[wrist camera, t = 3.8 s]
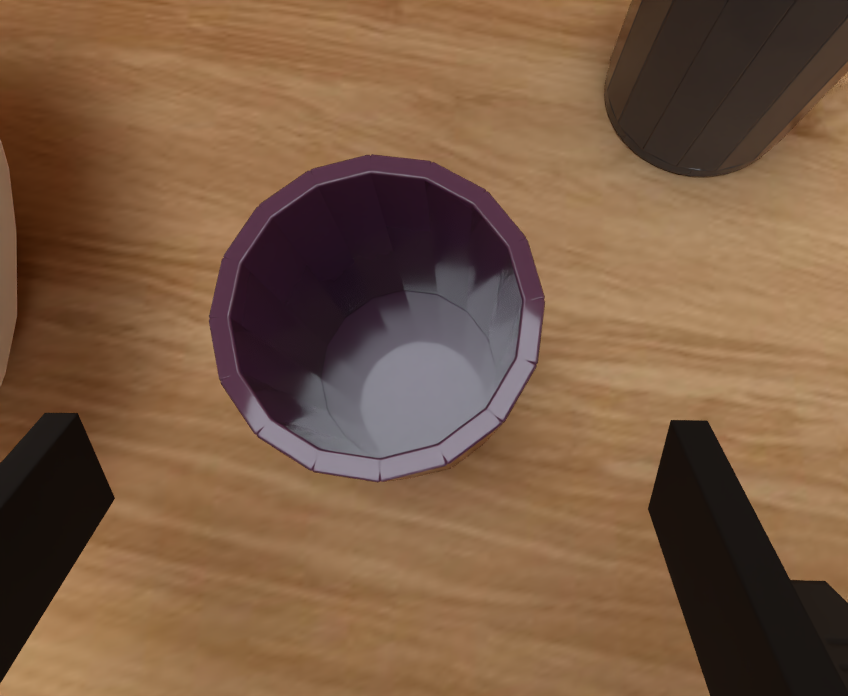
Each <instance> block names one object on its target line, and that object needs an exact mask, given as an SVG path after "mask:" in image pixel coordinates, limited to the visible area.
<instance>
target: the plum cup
mask: <svg viewBox="0 0 848 696" xmlns="http://www.w3.org/2000/svg"><path fill="white" fill-rule="evenodd" d="M223 257H224V258H223V259H222V261H221V266H220V270H219V275H218V279H217V284H216V288H215V292H214V297H213V301H212V306H211V310H210V315H209V318H210V319H209V325H210V330H211V336H212V341H213V347H214V353H215V358H216V364H217V370H218V375H219V380H220V381H221V385H222V386H223V388H224V389H225V391H226V392H227V394H228V395H229V397H230V398H231V400H232V401H233V403H234V404H235V406H236V407H237V409H238V410H239V412H240V413H241V415H242V416H243V418H244V419H245V421H246V422H247V424H248V425H249V427H250V428H251V430H252V431H253V433H254V434H256V435H257V437H258V438H260V439H261V440H263V441H264V442H266V443H267V444H269V445H271V446H272V447H274V448H275V449H277V450H278V451H280V452H282V453H283V454H285V455H286V456H288V457H289V458H291V459H293V460H294V461H296V462H297V463H299V464H300V465H302V466H304V467H305V468H307V469H308V470H310V471H313V472H315V473H322V474H328V475H334V476H341V477H347V478H353V479H360V480H366V481H372V482H387V481H394V480H401V479H409V478H415V477H419V476H423V475H427V474H431V473H435V472H439V471H443V470H447V469H451V468H452V467H454V466H456V465H457V464H458V463H460V462H461V461H462V460H464V459H465V458H466V457H468V456H469V455H470V454H472V453H473V452H474V451H476V450H477V449H478V448H479V447H481V446H482V445H483V444H484V443H485V442H486V441H487V440H488V439H489V438H490V437H491V436H492V435H493V434H494V433H495V432H496V431H497V430H498V428H499V427H500V426H501V425H502V424H503V423H504V422H505V421H506V419H507V417H508V415H509V414H510V412H511V410H512V408H513V407H514V405H515V403H516V402H517V400H518V398H519V396H520V395H521V393H522V391H523V389H524V388H525V386H526V384H527V383H528V381H529V379H530V377H531V376H532V374H533V372H534V370H535V369H536V366H537V365H536V364H537V363H538V358H539V350H540V341H541V333H542V324H543V316H544V307H545V300H544V298H545V296H544V293H543V290H542V286H541V283H540V280H539V276H538V273H537V270H536V266H535V263H534V260H533V256H532V253H531V250H530V246H529V243H528V240H527V239H526V237H525V235H524V234H523V233H522V232H521V231H520V229H519V228H518V227H517V226H516V225H515V223H514V222H513V221H512V220H511V219H510V217H509V216H508V215H507V214H506V213H505V211H504V210H503V209H502V208H501V207H500V205H499V204H498V203H497V202H496V201H495V199H494V198H493V197H492V196H491V195H490V193H489V192H487V191H486V190H485V189H484V188H482V187H480V186H478V185H476V184H474V183H472V182H470V181H468V180H467V179H465V178H463V177H461V176H459V175H457V174H455V173H453V172H451V171H450V170H448V169H446V168H444V167H442V166H440V165H438V164H436V163H434V162H432V163H431V161H426V160H417V159H408V158H399V157H391V156H382V155H373V154H372V155H371V156H370V155H365V156H361V157H357V158H353V159H349V160H345V161H341V162H337V163H333V164H329V165H325V166H321V167H317V168H314V169H311V170H310V171H307V172H305V173H304V174H302V175H301V176H299V177H298V178H297V179H295V180H294V181H292V182H291V183H289V184H288V185H287V186H285V187H284V188H282V189H281V190H279V191H278V192H276V193H275V194H274V195H272V196H271V197H269V198H268V199H266V200H265V201H263V202H262V203H261V204H260V205H259V207H256V209H255V210H254V212H253V213H252V215H251V216H250V218H249V219H248V221H247V222H246V223H245V225H244V226H243V228H242V229H241V231H240V232H239V234H238V235H237V237H236V238H235V240H234V241H233V242H232V244H231V245H230V247H229V248H228V250H227V251H226V253H225V254H224V256H223Z"/></svg>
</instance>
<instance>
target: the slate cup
mask: <svg viewBox="0 0 848 696" xmlns="http://www.w3.org/2000/svg"><path fill="white" fill-rule="evenodd" d="M847 72H848V0H632V1H631V4H630V6H629V9H628V12H627V15H626V17H625V20H624V23H623V25H622V28H621V31H620V34H619V36H618V39H617V42H616V44H615V47H614V50H613V53H612V55H611V58H610V63H609V68H608V71H607V75H606V80H605V102H606V107H607V111H608V115H609V117H610V120H611V122H612V125H613V127H614V128H615V130H616V132H617V133H618V135H619V136H620V138H621V139H622V140H623V141H624V143H625V144H626V145H627V146H628V147H629V148H630V149H631V150H632V151H633V152H634V153H636V154H637V155H638V156H640V157H641V158H642V159H644V160H645V161H647V162H649V163H651V164H652V165H654V166H656V167H659V168H661V169H663V170H666V171H669V172H673V173H676V174H681V175H687V176H698V177H706V176H717V175H722V174H727V173H731V172H734V171H737V170H740V169H742V168H744V167H746V166H748V165H750V164H752V163H753V162H755V161H756V160H758V159H760V158H761V157H762V156H763V155H764V154H765V153H767V152H768V151H769V150H770V149H771V148H772V147H773V146H774V145H775V144H777V143H778V142H779V141H781V140H782V139H783V138H784V137H785V136H786V135H787V134H788V132H789V131H790V130H791V129H792V128H793V127H794V126H795V125H796V124H797V123H798V122H799V121H800V120H801V119H802V118H803V117H804V116H805V115H806V114H807V113H808V112H809V111H810V110H811V109H812V108H813V107H814V106H815V105H816V104H817V103H818V102H819V101H820V100H821V99H822V98H823V97H824V96H825V95H826V93H827V92H828V91H829V90H830V89H831V88H832V87H833V86H834V85H835V84H836V83H837V82H838V81H839V80H840V79H841V78H842V77H843V76H844V75H845V74H846V73H847Z"/></svg>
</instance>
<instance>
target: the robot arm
mask: <svg viewBox="0 0 848 696" xmlns="http://www.w3.org/2000/svg"><path fill="white" fill-rule="evenodd" d="M114 499H115V498H114V495H113V493H112V491H111V488H110V486H109V484H108V482H107V479H106V477H105V475H104V472H103V470H102V468H101V466H100V463H99V461H98V459H97V456H96V454H95V452H94V450H93V447H92V445H91V443H90V440H89V438H88V436H87V433H86V431H85V429H84V427H83V424H82V422H81V420H80V417H79V415H78V413H44V415H43V416H42V417H41V418H40V419H39V420H38V421H37V422H36V424H35V425H34V426H33V427H32V428H31V429H30V430H29V432H28V433H27V434H26V435H25V436H24V437H23V438H22V439H21V441H20V442H19V443H18V444H17V445H16V446H15V447H14V449H13V450H12V451H11V452H10V453H9V454H8V455H7V456H6V458H5V459H4V460H3V461H2V462H1V463H0V683H1V681H2V680H3V678H4V677H5V675H6V673H7V672H8V670H9V668H10V667H11V665H12V664H13V662H14V660H15V659H16V657H17V656H18V654H19V652H20V651H21V649H22V648H23V646H24V644H25V643H26V641H27V639H28V638H29V636H30V635H31V633H32V631H33V630H34V628H35V627H36V625H37V623H38V622H39V620H40V618H41V617H42V615H43V614H44V612H45V610H46V609H47V607H48V606H49V604H50V602H51V601H52V599H53V597H54V596H55V594H56V593H57V591H58V589H59V588H60V586H61V585H62V583H63V581H64V580H65V578H66V577H67V575H68V573H69V572H70V570H71V568H72V567H73V565H74V564H75V562H76V560H77V559H78V557H79V556H80V554H81V552H82V551H83V549H84V547H85V546H86V544H87V543H88V541H89V539H90V538H91V536H92V535H93V533H94V531H95V530H96V528H97V526H98V525H99V523H100V522H101V520H102V518H103V517H104V515H105V514H106V512H107V510H108V509H109V507H110V506H111V504H112V502H113V501H114ZM648 510H649V513H650V516H651V519H652V522H653V525H654V528H655V531H656V534H657V537H658V540H659V543H660V546H661V549H662V552H663V555H664V558H665V561H666V564H667V567H668V570H669V573H670V576H671V579H672V582H673V585H674V588H675V591H676V594H677V597H678V600H679V603H680V606H681V609H682V612H683V615H684V618H685V621H686V624H687V627H688V630H689V633H690V636H691V639H692V642H693V645H694V648H695V651H696V654H697V657H698V660H699V663H700V666H701V669H702V672H703V675H704V678H705V681H706V684H707V687H708V690H709V693H710V696H848V603H847V602H846V601H845V600H844V599H843V598H842V597H841V596H840V595H839V594H838V593H837V592H836V591H835V590H834V589H833V588H832V587H831V586H830V585H829V584H828V583H827V582H826V581H802V580H790V579H789V577H788V575H787V573H786V571H785V569H784V567H783V565H782V563H781V561H780V559H779V557H778V556H777V554H776V552H775V550H774V548H773V546H772V544H771V542H770V540H769V538H768V536H767V534H766V532H765V531H764V529H763V527H762V525H761V523H760V521H759V519H758V517H757V515H756V513H755V511H754V509H753V507H752V505H751V504H750V502H749V500H748V498H747V496H746V494H745V492H744V490H743V488H742V486H741V484H740V482H739V480H738V478H737V477H736V475H735V473H734V471H733V469H732V467H731V465H730V463H729V461H728V459H727V457H726V455H725V453H724V452H723V450H722V448H721V446H720V444H719V442H718V440H717V438H716V436H715V434H714V432H713V430H712V428H711V426H710V425H709V423H708V421H693V420H671V422H670V426H669V429H668V433H667V437H666V441H665V445H664V449H663V453H662V457H661V460H660V464H659V468H658V472H657V476H656V480H655V484H654V488H653V492H652V495H651V499H650V503H649V507H648Z"/></svg>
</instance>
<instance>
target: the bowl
mask: <svg viewBox="0 0 848 696" xmlns="http://www.w3.org/2000/svg"><path fill="white" fill-rule="evenodd" d="M16 319H17V239H16V224H15V216H14V207H13V198H12V189H11V181H10V172H9V166H8V163H7V159H6V156H5V153H4V149H3V146H2V142H1V139H0V387H1V384H2V382H3V379H4V377H5V373H6V368H7V363H8V358H9V354H10V349H11V344H12V339H13V334H14V329H15V324H16Z"/></svg>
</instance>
